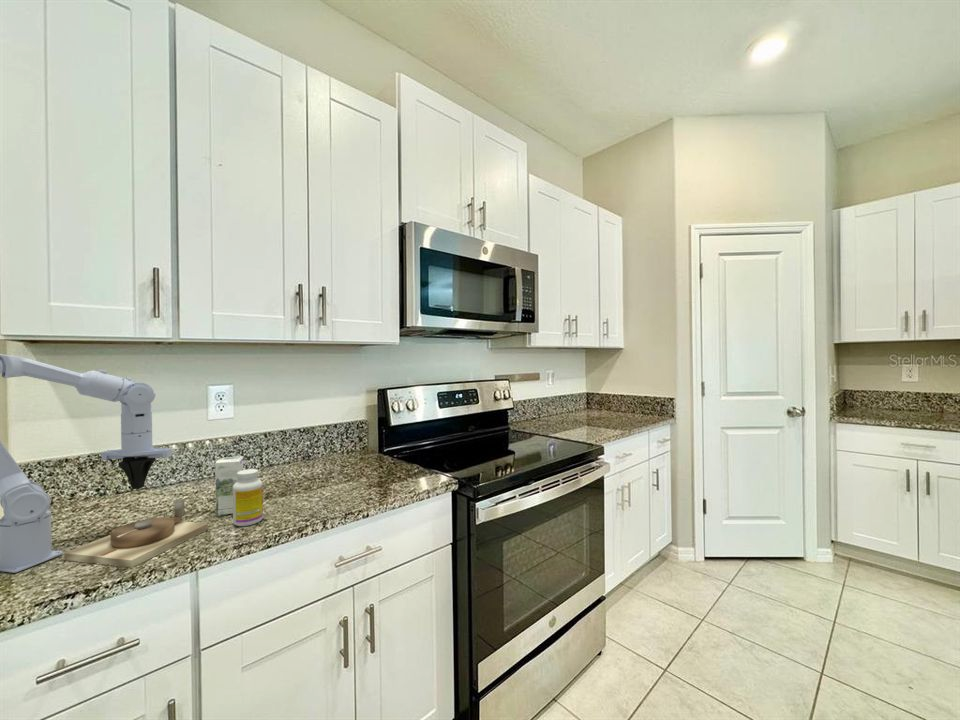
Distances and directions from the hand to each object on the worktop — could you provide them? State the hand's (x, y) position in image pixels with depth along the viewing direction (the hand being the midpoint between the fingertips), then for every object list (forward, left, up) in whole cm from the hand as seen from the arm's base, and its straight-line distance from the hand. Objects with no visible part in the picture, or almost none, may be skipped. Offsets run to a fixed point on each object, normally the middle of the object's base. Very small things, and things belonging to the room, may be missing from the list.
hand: (138, 488), depth 97 cm
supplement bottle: (+22, +10, -11) cm, 26 cm away
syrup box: (+12, +15, -11) cm, 22 cm away
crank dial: (+8, -3, -9) cm, 12 cm away
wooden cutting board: (+7, -5, -11) cm, 14 cm away
